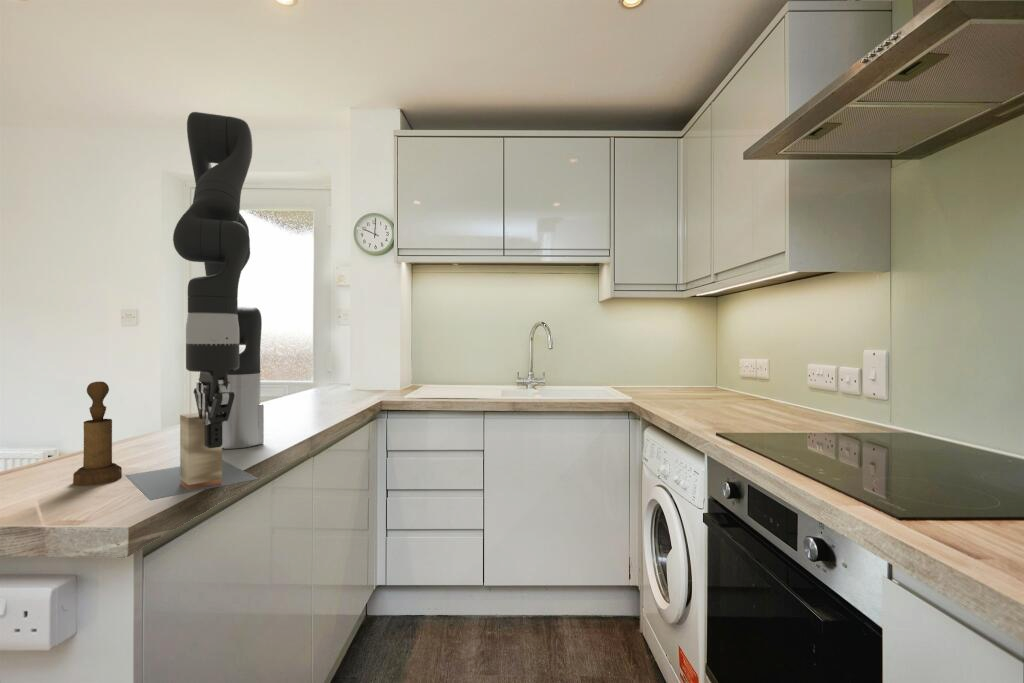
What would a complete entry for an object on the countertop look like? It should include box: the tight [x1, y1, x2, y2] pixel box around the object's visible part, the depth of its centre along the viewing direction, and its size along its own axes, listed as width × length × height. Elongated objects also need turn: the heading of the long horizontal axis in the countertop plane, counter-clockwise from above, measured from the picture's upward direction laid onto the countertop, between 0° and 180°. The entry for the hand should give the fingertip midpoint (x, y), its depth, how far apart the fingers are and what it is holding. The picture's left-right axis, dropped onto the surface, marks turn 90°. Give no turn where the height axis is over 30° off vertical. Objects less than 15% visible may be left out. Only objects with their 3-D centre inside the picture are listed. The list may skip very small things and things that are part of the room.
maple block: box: [179, 412, 223, 490], centre depth 85 cm, size 5×5×12 cm
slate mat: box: [125, 459, 259, 501], centre depth 89 cm, size 16×20×1 cm
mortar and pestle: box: [72, 381, 123, 487], centre depth 87 cm, size 7×6×18 cm
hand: (213, 446), depth 81 cm, fingers closed
